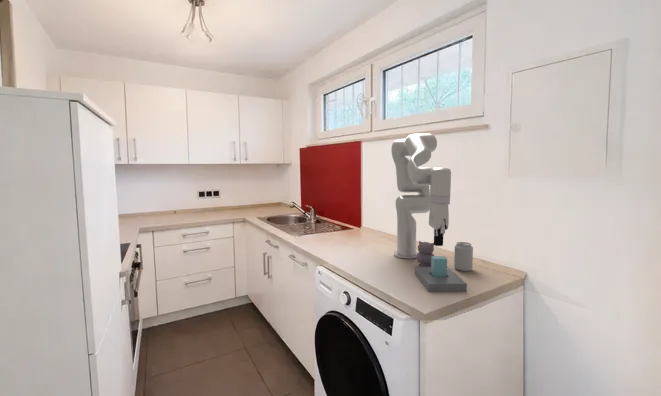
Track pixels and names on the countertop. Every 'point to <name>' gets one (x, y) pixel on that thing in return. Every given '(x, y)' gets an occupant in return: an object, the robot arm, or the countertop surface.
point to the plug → (438, 266)
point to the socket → (440, 281)
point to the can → (463, 256)
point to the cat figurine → (425, 254)
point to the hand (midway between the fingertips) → (438, 245)
